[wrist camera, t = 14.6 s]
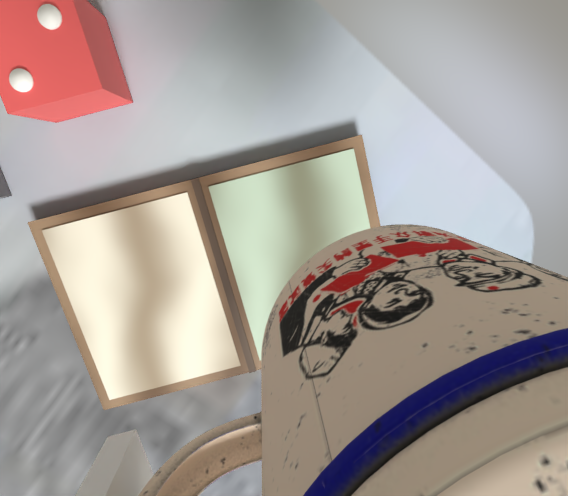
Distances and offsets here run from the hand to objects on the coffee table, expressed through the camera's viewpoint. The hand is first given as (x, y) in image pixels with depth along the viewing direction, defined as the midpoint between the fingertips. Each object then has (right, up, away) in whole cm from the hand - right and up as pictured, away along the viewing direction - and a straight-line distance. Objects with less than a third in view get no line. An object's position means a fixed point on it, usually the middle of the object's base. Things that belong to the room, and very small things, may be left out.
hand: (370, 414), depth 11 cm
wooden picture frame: (-6, +2, +17) cm, 19 cm away
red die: (-15, +15, +14) cm, 26 cm away
